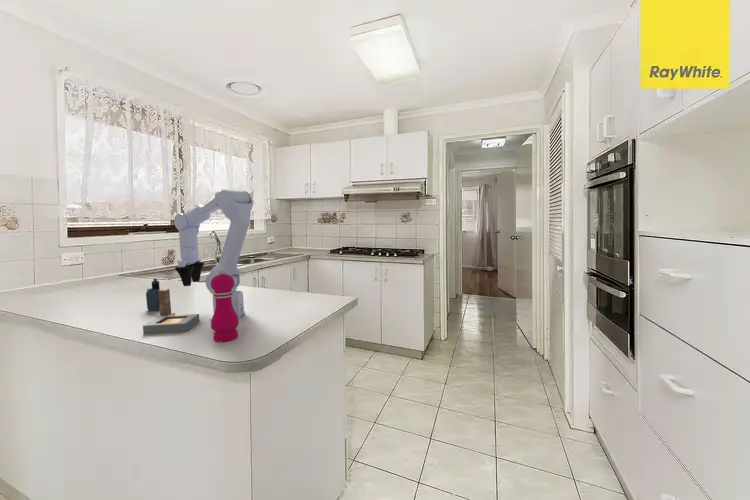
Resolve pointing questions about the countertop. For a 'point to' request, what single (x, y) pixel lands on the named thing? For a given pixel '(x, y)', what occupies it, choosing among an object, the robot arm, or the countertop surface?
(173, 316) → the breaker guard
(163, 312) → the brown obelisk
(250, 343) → the countertop surface
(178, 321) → the button
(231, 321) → the pepper mill
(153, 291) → the vaping device
